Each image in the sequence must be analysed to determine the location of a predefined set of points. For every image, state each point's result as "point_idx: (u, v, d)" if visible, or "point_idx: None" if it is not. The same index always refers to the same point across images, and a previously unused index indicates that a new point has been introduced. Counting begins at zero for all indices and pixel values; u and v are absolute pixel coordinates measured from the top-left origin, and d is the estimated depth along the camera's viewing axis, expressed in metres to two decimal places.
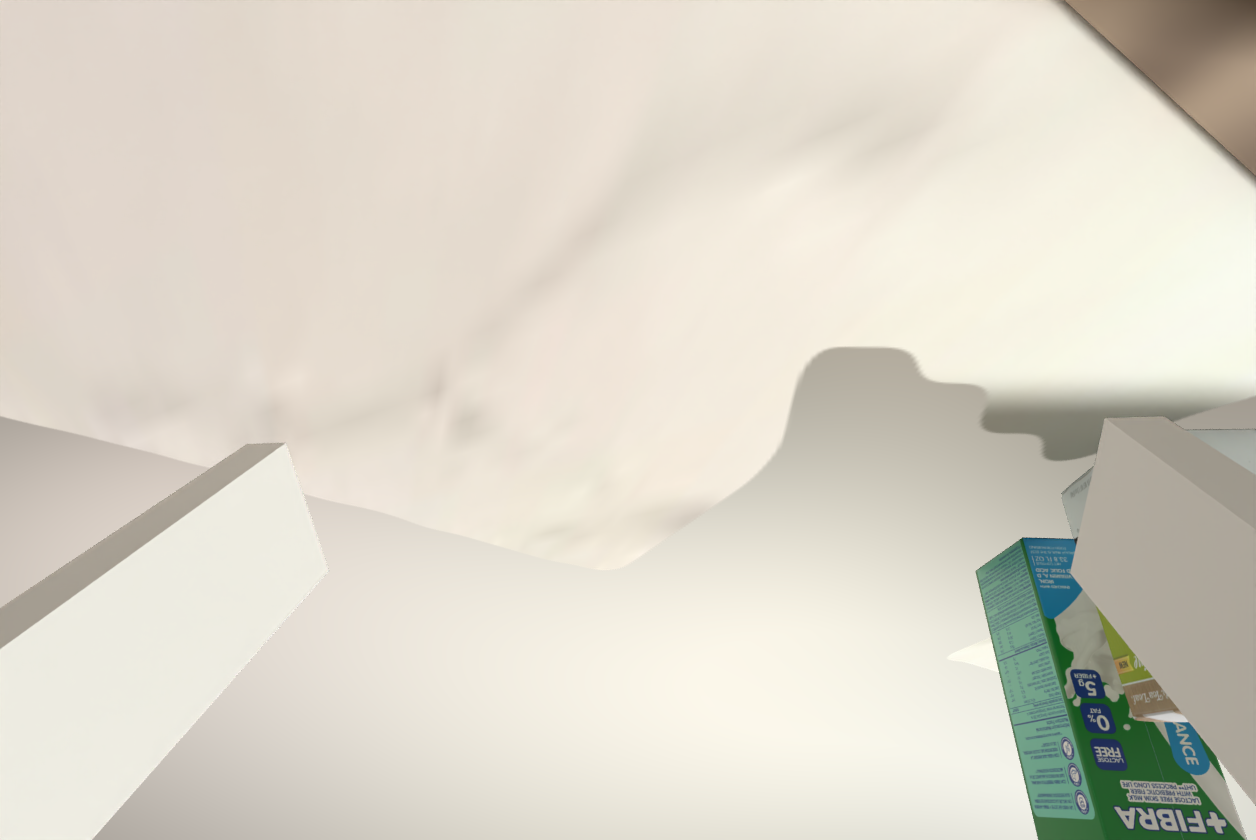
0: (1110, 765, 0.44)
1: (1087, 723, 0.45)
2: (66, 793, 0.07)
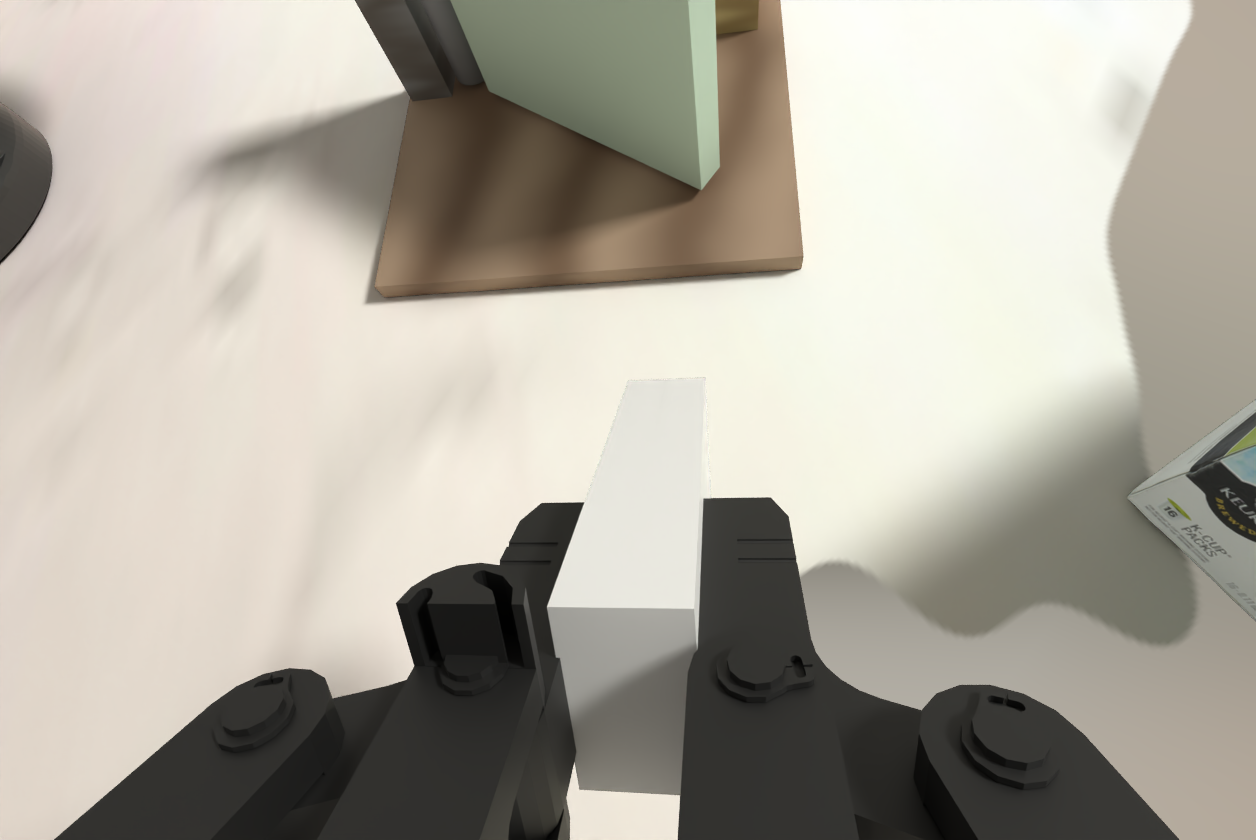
0: None
1: None
2: None
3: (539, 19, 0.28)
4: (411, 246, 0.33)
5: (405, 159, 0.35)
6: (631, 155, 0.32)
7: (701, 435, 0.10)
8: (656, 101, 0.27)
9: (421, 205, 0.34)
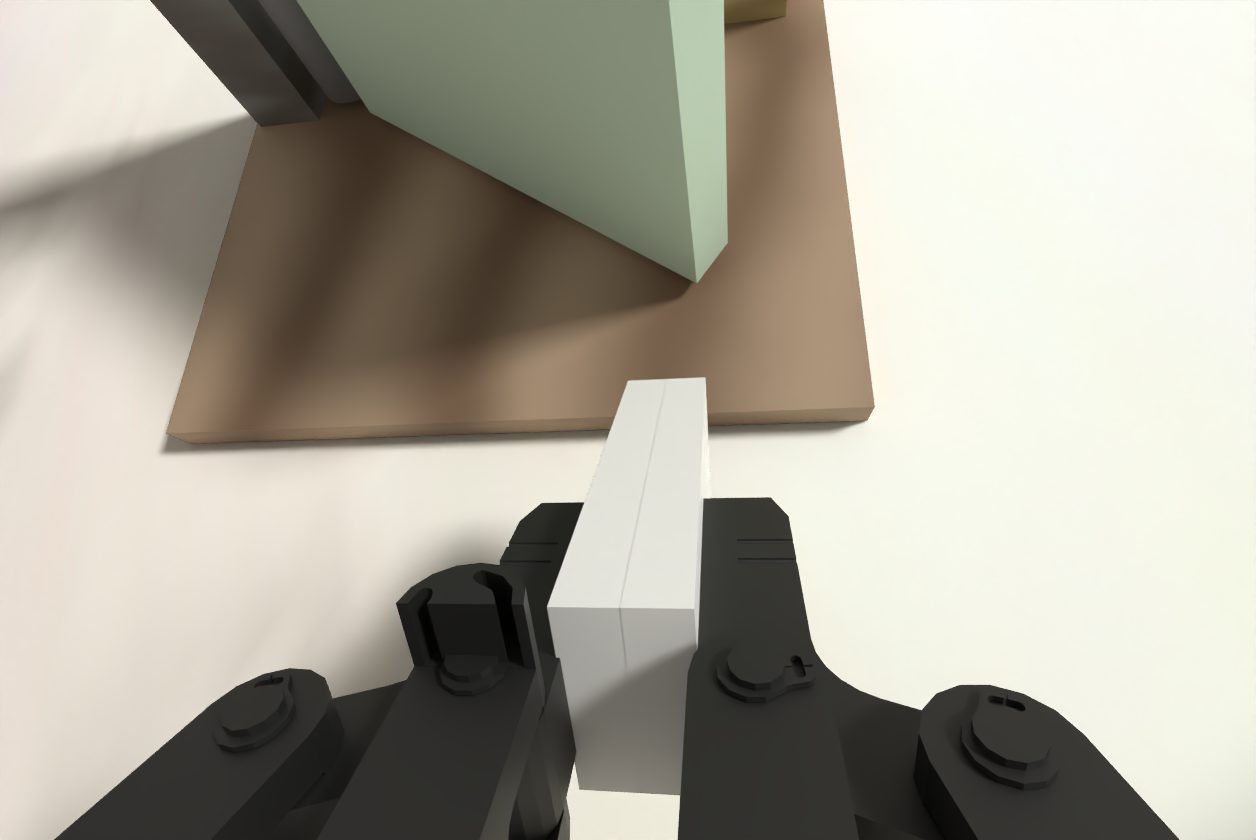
0: None
1: None
2: None
3: None
4: (230, 364, 0.20)
5: (239, 218, 0.23)
6: (582, 220, 0.19)
7: (701, 435, 0.10)
8: (612, 142, 0.15)
9: (254, 294, 0.21)
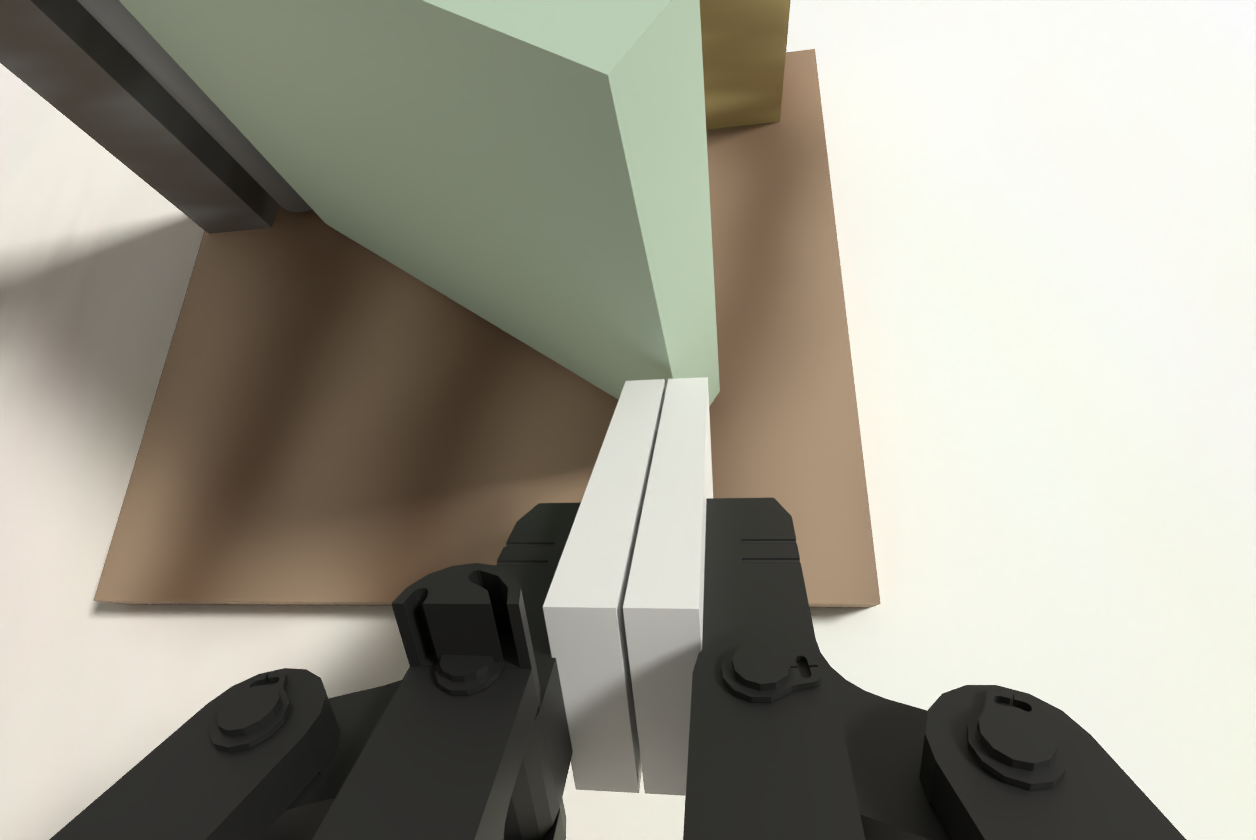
0: None
1: None
2: None
3: (340, 148, 0.13)
4: (166, 519, 0.18)
5: (182, 342, 0.21)
6: (558, 362, 0.18)
7: (704, 435, 0.10)
8: (586, 320, 0.13)
9: (195, 435, 0.19)
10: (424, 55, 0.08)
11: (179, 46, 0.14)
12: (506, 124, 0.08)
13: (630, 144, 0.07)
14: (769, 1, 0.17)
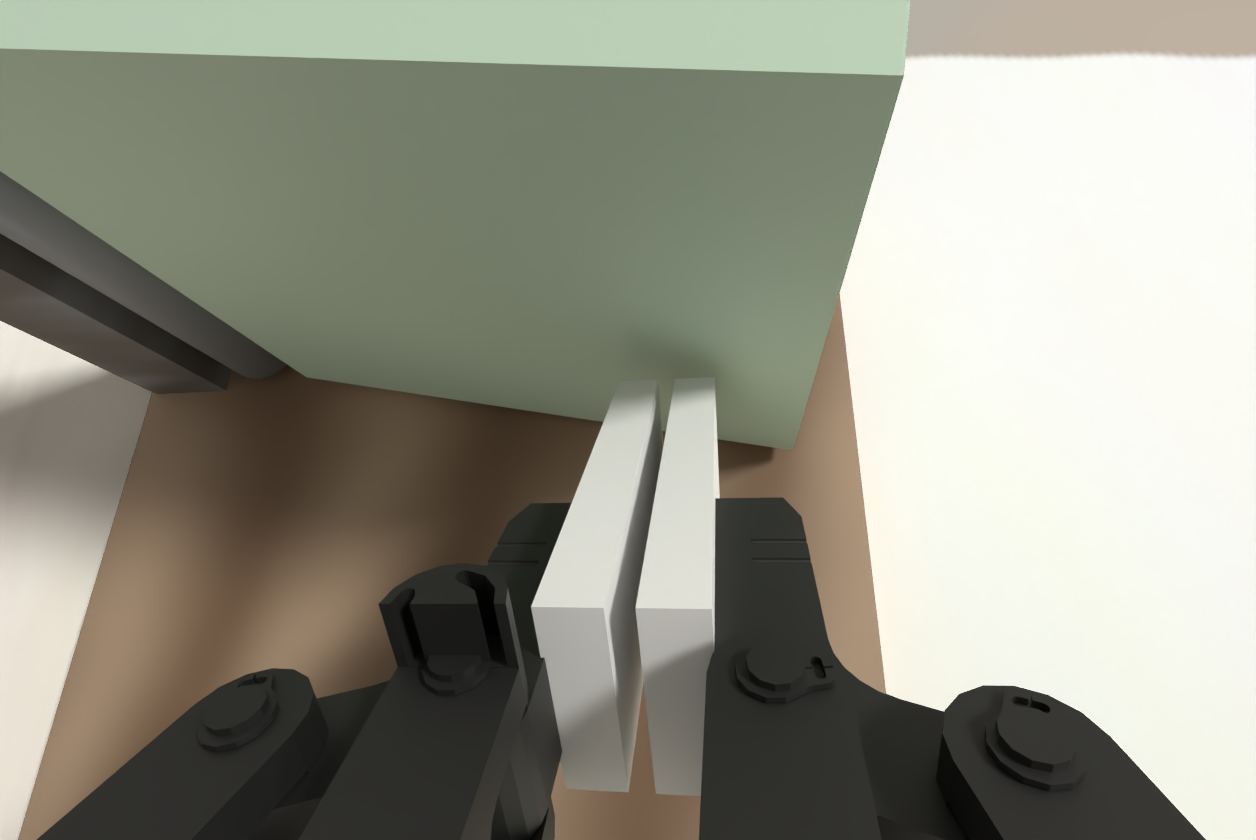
0: None
1: None
2: (635, 652, 0.08)
3: (382, 281, 0.12)
4: (99, 754, 0.16)
5: (124, 528, 0.19)
6: None
7: (713, 435, 0.10)
8: (703, 365, 0.12)
9: (134, 647, 0.17)
10: (594, 133, 0.07)
11: (143, 235, 0.12)
12: (696, 177, 0.08)
13: (879, 148, 0.07)
14: None
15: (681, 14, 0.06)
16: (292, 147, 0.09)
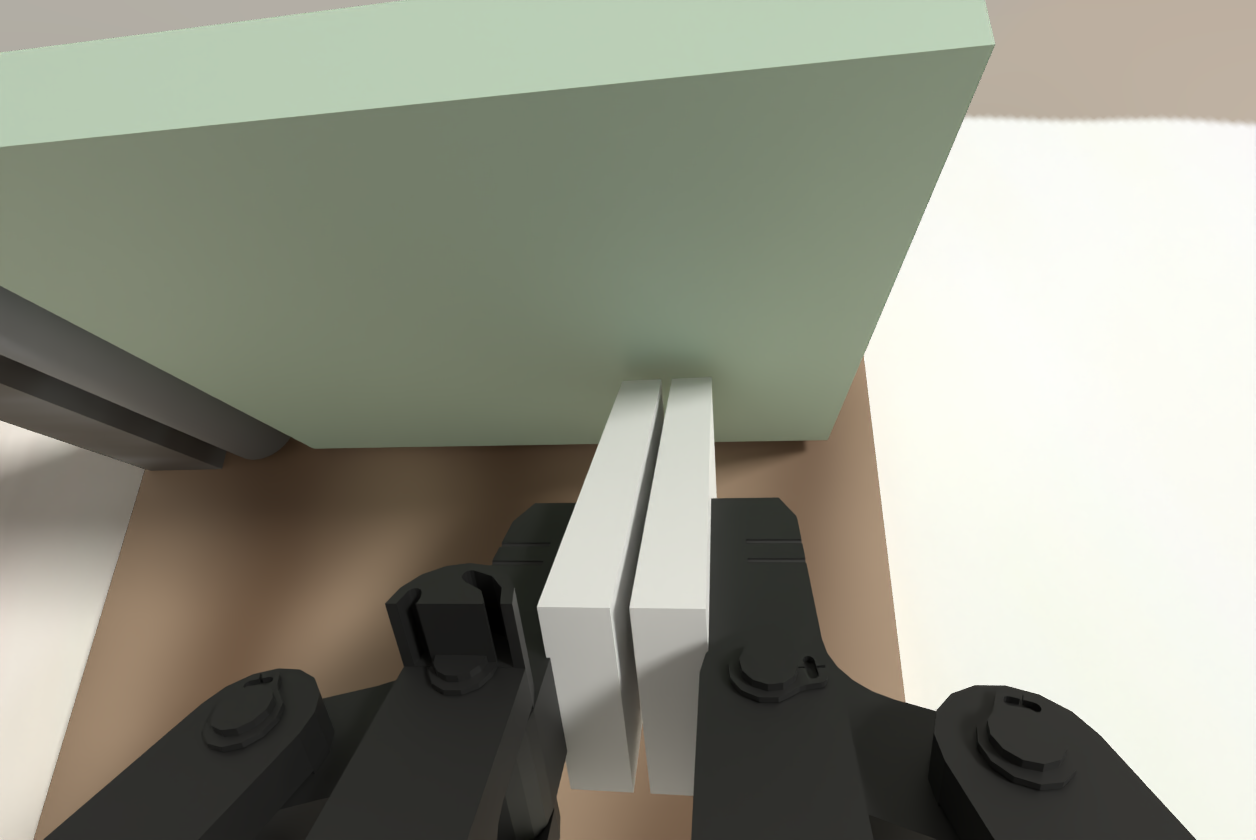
0: None
1: None
2: None
3: (412, 334, 0.11)
4: None
5: (113, 617, 0.18)
6: None
7: (708, 435, 0.10)
8: (746, 368, 0.12)
9: (122, 751, 0.16)
10: (665, 146, 0.07)
11: (148, 325, 0.11)
12: (766, 177, 0.07)
13: (956, 122, 0.07)
14: None
15: (749, 14, 0.06)
16: (331, 207, 0.08)
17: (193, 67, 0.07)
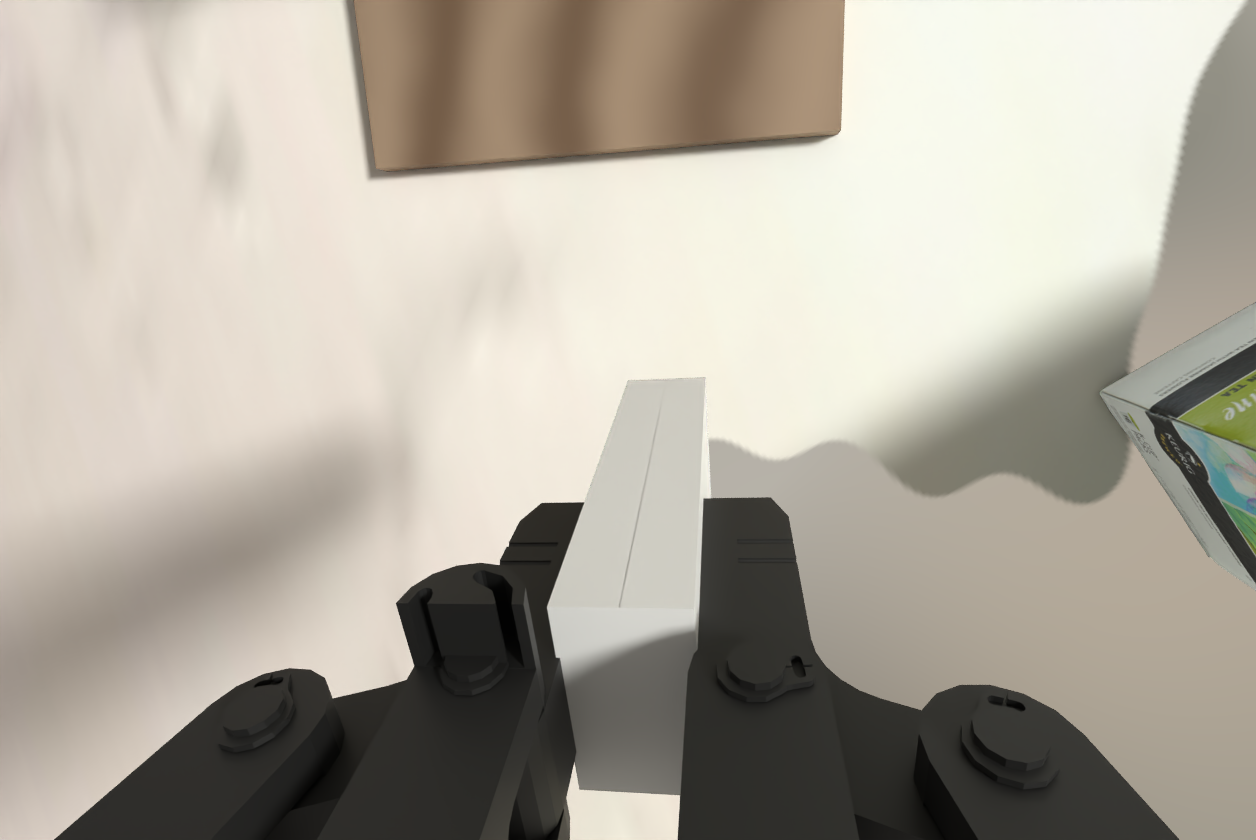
0: None
1: None
2: None
3: None
4: (401, 113, 0.29)
5: None
6: None
7: (701, 435, 0.10)
8: None
9: (397, 50, 0.29)
10: None
11: None
12: None
13: None
14: None
15: None
16: None
17: None
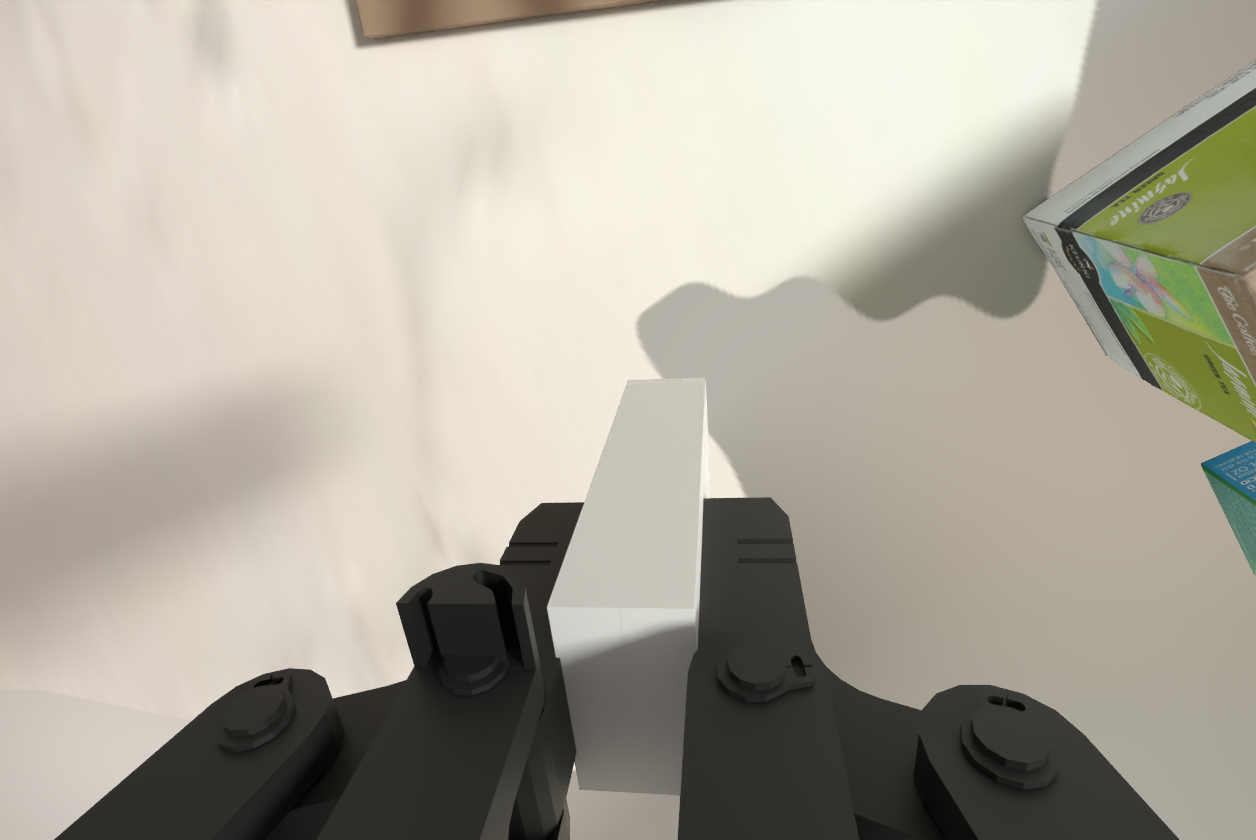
0: None
1: None
2: None
3: None
4: None
5: None
6: None
7: (701, 435, 0.10)
8: None
9: None
10: None
11: None
12: None
13: None
14: None
15: None
16: None
17: None
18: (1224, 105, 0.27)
